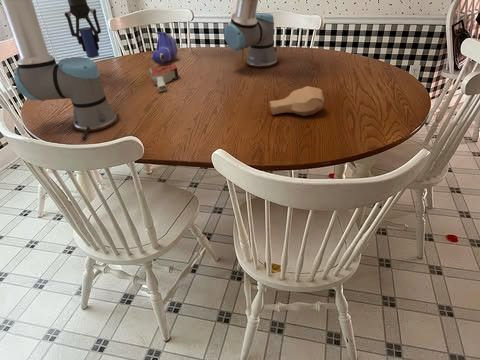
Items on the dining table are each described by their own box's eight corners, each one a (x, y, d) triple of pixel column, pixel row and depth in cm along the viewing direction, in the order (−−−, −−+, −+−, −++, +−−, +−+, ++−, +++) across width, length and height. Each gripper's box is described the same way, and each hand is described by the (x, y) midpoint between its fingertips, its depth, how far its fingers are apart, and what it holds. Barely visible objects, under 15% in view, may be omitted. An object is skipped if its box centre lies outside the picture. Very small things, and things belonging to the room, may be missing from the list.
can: (95, 53, 173) (87, 26, 165) (101, 55, 170) (93, 27, 162) (85, 56, 170) (76, 29, 162) (91, 58, 166) (82, 30, 159)
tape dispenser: (162, 96, 154) (191, 78, 166) (160, 85, 150) (189, 67, 163) (133, 88, 161) (162, 71, 174) (130, 77, 158) (160, 60, 170)
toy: (165, 64, 198) (145, 69, 175) (161, 31, 191) (139, 33, 169) (182, 63, 196) (164, 69, 173) (178, 30, 189) (159, 32, 167)
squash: (328, 116, 127) (328, 95, 121) (272, 126, 129) (270, 106, 123) (321, 99, 135) (321, 79, 128) (269, 109, 137) (266, 89, 130)
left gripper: (97, -8, 159) (111, 45, 173) (54, -4, 155) (71, 50, 169) (97, -6, 153) (111, 49, 167) (51, -1, 150) (70, 55, 163)
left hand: (91, 50), depth 168 cm, fingers closed on can, 5 cm apart
